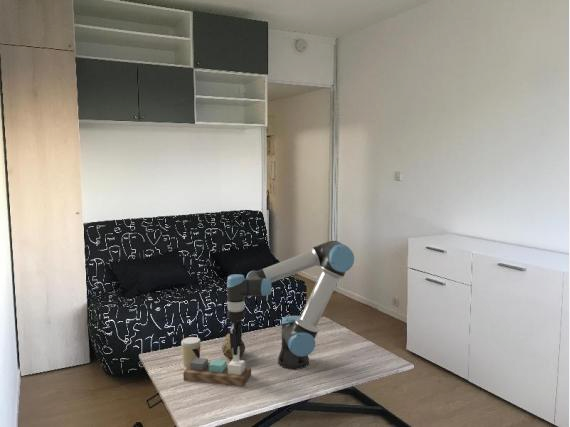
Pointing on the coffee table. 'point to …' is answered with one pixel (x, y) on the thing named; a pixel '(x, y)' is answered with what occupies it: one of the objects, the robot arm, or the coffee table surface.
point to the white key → (236, 367)
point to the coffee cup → (190, 350)
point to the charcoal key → (199, 364)
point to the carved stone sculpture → (228, 350)
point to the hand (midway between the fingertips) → (236, 360)
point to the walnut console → (217, 376)
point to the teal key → (217, 366)
